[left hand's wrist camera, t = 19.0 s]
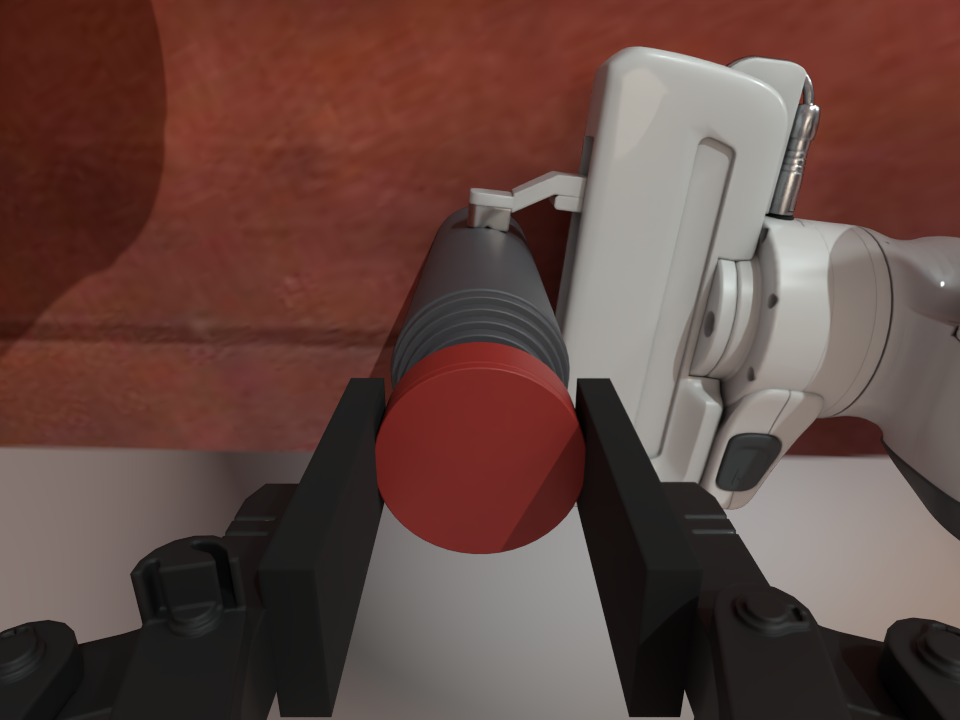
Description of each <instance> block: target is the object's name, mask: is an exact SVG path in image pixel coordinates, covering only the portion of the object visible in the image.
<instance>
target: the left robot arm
mask: <svg viewBox="0 0 960 720" xmlns="http://www.w3.org/2000/svg"><path fill="white" fill-rule="evenodd" d="M385 409H386V407H385V390H384V378H351V379H350V381H349V383H348V385H347V387H346V389H345V391H344V393H343V396H342V398H341V400H340V402H339V404H338V406H337V408H336V410H335V412H334V414H333V416H332V418H331V420H330V422H329V424H328V426H327V428H326V430H325V432H324V434H323V436H322V438H321V440H320V442H319V444H318V446H317V448H316V450H315V452H314V454H313V457H312V459H311V461H310V463H309V465H308V467H307V469H306V471H305V473H304V475H303V477H302V479H301V481H300V483H299V484H265V485H264V486H262V487H261V488H260V489H259V490H257V491H256V492H255V493H253V494H252V495H251V496H249V497H248V498H247V499H246V500H245V501H244V503H243V504H242V506H241V508H240V509H239V511H238V513H237V514H236V516H235V520H234V521H232V522H231V524H230V526H229V527H228V529H227V531H226V532H225V536H223V537H222V538H221V537H217V536H213V535H212V536H192V537H188V538H183V539H179V540H175V541H173V542H170V543H168V544H166V545H164V546H161V547H159V548H157V549H155V550H154V551H152V552H151V553H150V554H148V555H147V556H146V557H144V558H143V559H142V560H140V561H139V563H138V564H137V565H136V567H135V568H134V569H133V571H132V572H131V574H130V575H131V579H132V583H133V587H134V591H135V595H136V599H137V604H138V608H139V612H140V615H141V620H142V624H143V625H142V627H141V628H140V629H137V630H134V631H131V632H128V633H124V634H121V635H116V636H112V637H108V638H104V639H99V640H95V641H91V642H87V643H82V644H78V643H77V640H76V636H75V633H74V631H73V630H72V629H71V628H70V627H69V626H68V625H66V624H65V623H62V622H57V621H51V620H45V621H37V622H29V623H25V624H22V625H19V626H16V627H13V628H10V629H7V630H4V631H2V632H1V633H0V720H267V717H268V714H269V711H270V708H271V705H272V703H273V700H274V697H275V694H276V691H277V697H278V704H279V710H280V716H281V717H331V716H332V712H333V708H334V704H335V700H336V696H337V692H338V688H339V684H340V680H341V676H342V672H343V668H344V664H345V660H346V656H347V652H348V648H349V644H350V639H351V635H352V631H353V627H354V623H355V619H356V615H357V611H358V607H359V603H360V599H361V595H362V591H363V587H364V583H365V579H366V575H367V571H368V567H369V563H370V559H371V554H372V550H373V546H374V542H375V538H376V534H377V530H378V526H379V522H380V518H381V514H382V510H383V506H384V500H383V498H382V496H381V494H380V491H379V489H378V483H377V469H376V455H375V442H376V438H377V434H378V431H379V428H380V425H381V422H382V419H383V416H384V412H385ZM575 410H576V413H577V416H578V420H579V423H580V426H581V429H582V432H583V435H584V439H585V443H586V451H585V466H584V480H583V488H582V490H581V493H580V496H579V497H578V499H577V501H576V503H577V507H578V511H579V515H580V519H581V523H582V527H583V531H584V535H585V539H586V543H587V548H588V552H589V555H590V560H591V564H592V568H593V572H594V576H595V580H596V584H597V588H598V592H599V596H600V600H601V604H602V608H603V612H604V616H605V620H606V624H607V628H608V632H609V637H610V641H611V645H612V649H613V653H614V657H615V661H616V665H617V669H618V673H619V677H620V681H621V685H622V689H623V693H624V697H625V701H626V705H627V709H628V713H629V717H680V715H681V708H682V702H683V696H684V689H685V692H686V695H687V697H688V700H689V703H690V706H691V709H692V711H693V714H694V720H960V629H959V628H956V627H953V626H950V625H947V624H944V623H941V622H938V621H935V620H929V619H920V618H908V619H903V620H897V621H896V622H895V623H894V624H893V625H891V626H890V627H889V628H888V629H887V633H886V636H885V639H884V642H880V641H876V640H872V639H868V638H864V637H859V636H855V635H851V634H846V633H842V632H838V631H835V630H832V629H828V628H825V627H822V626H820V625H818V624H817V622H816V620H815V619H814V617H813V615H812V614H811V612H810V611H809V609H808V608H806V607H805V606H804V605H803V604H802V603H800V602H799V601H798V600H797V599H796V598H795V597H793V596H791V595H789V594H787V593H785V592H783V591H781V590H779V589H777V588H775V587H771V586H770V585H769V583H768V582H767V580H766V579H765V577H764V575H763V574H762V572H761V571H760V569H759V567H758V566H757V564H756V562H755V561H754V559H753V557H752V556H751V554H750V553H749V551H748V549H747V548H746V546H745V545H744V543H743V541H742V540H741V538H740V536H739V535H738V534H736V530H735V528H734V527H733V525H732V523H731V522H730V520H729V519H727V515H726V514H725V512H724V511H723V509H722V507H721V506H720V504H719V502H718V501H717V499H716V497H714V496H713V495H712V494H710V493H709V492H708V491H706V490H705V489H704V488H702V487H701V486H700V485H698V484H697V483H696V482H661V481H660V479H659V477H658V475H657V473H656V471H655V469H654V467H653V465H652V463H651V461H650V459H649V457H648V455H647V453H646V451H645V449H644V447H643V445H642V443H641V441H640V439H639V437H638V435H637V433H636V431H635V429H634V426H633V424H632V422H631V420H630V418H629V416H628V414H627V412H626V410H625V408H624V406H623V404H622V402H621V400H620V398H619V396H618V394H617V392H616V390H615V388H614V386H613V384H612V382H611V380H610V378H577V386H576V402H575Z"/></svg>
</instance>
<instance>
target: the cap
mask: <svg viewBox="0 0 960 720" xmlns="http://www.w3.org/2000/svg"><path fill="white" fill-rule="evenodd" d="M585 451H586V443H585V439H584V435H583V432H582V429H581V426H580V423H579V420H578V416H577V413H576V410H575V407H574V404H573V402H572V399H571V397H570V394H569V392H568V391H567V389H566V387H565V386H564V384H563V383H562V381H561V380H560V379H559V377H558V376H557V375H556V374H555V373H554V372H553V371H552V370H551V369H550V368H549V367H548V366H547V365H546V364H544V363H543V362H541V361H540V360H539V359H537V358H536V357H534V356H532V355H530V354H528V353H527V352H525V351H522V350H519V349H517V348H514V347H511V346H507V345H503V344H498V343H490V342H471V343H463V344H458V345H454V346H450V347H446V348H444V349H441V350H439V351H436V352H434V353H432V354H430V355H429V356H427V357H425V358H423V359H422V360H421V361H419V362H418V363H417V364H415V365H414V366H413V367H412V368H411V369H410V370H409V371H408V372H407V373H406V374H404V376H403V377H402V378H401V380H400V381H399V382H398V383H397V385H396V387H395V388H394V390H393V392H392V394H391V396H390V399H389V401H388V404H387V406H386V409H385V412H384V416H383V419H382V422H381V425H380V428H379V431H378V434H377V438H376V442H375V455H376V469H377V483H378V489H379V491H380V494H381V496H382V498H383V500H384V502H385V503H386V505H387V507H388V508H389V510H390V511H391V512H392V514H393V515H394V516H395V517H396V518H397V519H398V520H399V521H400V523H401V524H402V525H403V526H405V527H406V528H407V529H408V530H410V531H411V532H412V533H413V534H415V535H417V536H418V537H420V538H422V539H423V540H425V541H427V542H429V543H431V544H434V545H436V546H439V547H442V548H444V549H447V550H452V551H456V552H461V553H470V554H491V553H500V552H505V551H509V550H513V549H516V548H519V547H522V546H525V545H527V544H529V543H531V542H534V541H536V540H538V539H539V538H541V537H542V536H544V535H546V534H547V533H549V532H550V531H551V530H552V529H554V528H555V527H556V526H557V525H558V524H559V523H560V522H561V521H562V520H563V519H564V518H565V517H566V516H567V515H568V513H569V512H570V511H571V509H572V508H573V506H574V505H575V503H576V501H577V499H578V497H579V496H580V493H581V490H582V488H583V480H584V466H585Z"/></svg>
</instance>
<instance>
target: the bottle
mask: <svg viewBox="0 0 960 720" xmlns="http://www.w3.org/2000/svg"><path fill="white" fill-rule="evenodd" d="M467 218H468V207H466V208H463V209H461V210H458V211H457V212H455V213H453V214H452V215H451V216H449V217H448V218H447V219H446V220H445V221H444V222H443V224H442V225H441V227H440V228H439V230H438V232H437V234H436V237H435V239H434V242H433V245H432V247H431V250H430V253H429V256H428V258H427V261H426V264H425V266H424V269H423V272H422V274H421V277H420V280H419V282H418V285H417V288H416V290H415V293H414V296H413V299H412V301H411V304H410V307H409V309H408V312H407V315H406V317H405V320H404V323H403V325H402V328H401V331H400V333H399V336H398V339H397V342H396V344H395V347H394V350H393V355H392V360H391V380H392V387H393V390H394V388H395V387H396V385H397V383H398V382H399V381H400V380H401V378H402V377H403V376H404V374H406V373H407V372H408V371H409V370H410V369H411V368H412V367H413V366H414V365H415V364H417V363H418V362H419V361H421V360H422V359H423V358H425V357H427V356H429V355H430V354H432V353H434V352H436V351H439V350H441V349H444V348H446V347H450V346H454V345H458V344H463V343H471V342H490V343H498V344H503V345H507V346H511V347H514V348H517V349H519V350H522V351H525V352H527V353H528V354H530V355H532V356H534V357H536V358H537V359H539V360H540V361H541V362H543V363H544V364H546V365H547V366H548V367H549V368H550V369H551V370H552V371H553V372H554V373H555V374H556V375H557V376H558V377H559V379H560V380H561V381H562V383H563V384H564V386H565V387H566V389H567V390H568V383H569V375H570V365H569V356H568V352H567V348H566V345H565V342H564V340H563V337H562V334H561V331H560V329H559V326H558V323H557V321H556V318H555V315H554V313H553V310H552V307H551V305H550V302H549V299H548V297H547V294H546V291H545V289H544V286H543V283H542V281H541V278H540V275H539V273H538V270H537V267H536V265H535V262H534V259H533V257H532V254H531V251H530V249H529V246H528V243H527V240H526V238H525V235H524V233H523V231H522V229H521V227H520V226H519V224H518V223H517V222H516V221H515V220H514V219H513V218H512V217H511V216H510V222H509V229H508V232H506V231H497V230H493V229H491V228H490V227H489V226H486V227H484V228H473V227H469V226H467Z"/></svg>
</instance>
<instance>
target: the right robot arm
mask: <svg viewBox="0 0 960 720" xmlns="http://www.w3.org/2000/svg"><path fill="white" fill-rule="evenodd" d="M802 91H803V104H799V100H800V97H801V93H802ZM814 99H815V97H814V87H813V83H812V81H811V79H810V77H809V75H808V73H807V72H806V71H805V69H804V68H802V67H801V66H800V65H798V64H797V63H795V62H792V61H790V60H786V59H778V58H771V57H763V56H746V57H741V58H739V59H736V60H734V61H732V62H731V63H729V64H727V65H726V66H723V65H719V64H716V63H713V62H710V61H706V60H702V59H699V58H695V57H692V56H687V55H683V54H679V53H674V52H669V51H664V50H659V49H654V48H647V47H629V48H625V49H622V50H620V51H619V52H617V53H615V54H614V55H613V56H611V57H610V58H609V59H607V60H606V61H605V62H604V63H603V64H602V65H600V66H599V67H598V69H597V70H596V72H595V75H594V80H593V86H592V92H591V98H590V104H589V111H588V117H587V123H586V129H585V135H584V141H583V147H582V153H581V159H580V165H579V171H578V174H577V173H568V172H559V171H551V172H549V173H546V174H544V175H542V176H540V177H538V178H535V179H533V180H531V181H529V182H527V183H524V184H522V185H520V186H518V187H515V188H513V189H512V191H511V192H507V191H498V190H489V189H481V188H471V190H470V198H469V207H468V218H467V226H469V227H473V228H484V227H486V226H489V227H490V228H491V229H493V230H497V231H506V232H508V229H509V222H510V215H511V212H512V213H513V212H515V211H517V210H520V209H522V208H524V207H527V206H529V205H532V204H534V203H536V202H539V201H541V200H543V199H546V198H548V197H549V201H550V202H551V204H552V205H553V206H554V207H555V208H556V209H558V210H565V211H572V214H571V220H570V226H569V232H568V238H567V244H566V251H565V257H564V263H563V269H562V275H561V281H560V287H559V293H558V299H557V305H556V311H555V318H556V321H557V323H558V326H559V329H560V331H561V334H562V337H563V340H564V342H565V345H566V348H567V352H568V356H569V365H570V375H569V383H568V390H567V391H568V392H569V394H570V397H571V399H572V402H573V404H574V407H575V402H576V386H577V378H610V380H611V382H612V384H613V386H614V388H615V390H616V392H617V394H618V396H619V398H620V400H621V402H622V404H623V406H624V408H625V410H626V412H627V414H628V416H629V418H630V420H631V422H632V424H633V426H634V429H635V431H636V433H637V435H638V437H639V439H640V441H641V443H642V445H643V447H644V449H645V451H646V453H647V455H648V457H649V459H650V461H651V463H652V465H653V467H654V469H655V471H656V473H657V475H658V477H659V479H660V481H661V482H696V483H697V484H698V485H700V486H701V487H702V488H704V489H705V490H706V491H708V492H709V493H710V494H712V495H713V496H714V497H716V499H717V501H718V502H719V504H720V506H721V507H722V509H738V508H741V507H743V506H744V505H746V504H747V503H748V502H749V501H750V500H751V499H752V497H753V496H754V495H755V493H756V492H757V491H758V489H759V488H760V486H761V485H762V484H763V482H764V481H765V479H766V478H767V477H768V475H769V474H770V472H771V471H772V470H773V468H774V467H775V466H776V464H777V463H778V462H779V461H780V459H781V458H782V457H783V455H784V454H785V453H786V452H787V450H788V449H789V448H790V447H791V446H792V444H793V443H794V442H795V441H796V440H797V439H798V437H799V436H800V435H801V434H802V433H803V432H804V431H805V430H806V429H807V428H808V427H809V426H810V425H811V424H812V423H813V422H814V420H815V419H816V418H829V417H838V416H854V417H860V418H864V419H867V420H869V421H871V422H873V423H875V424H876V425H878V426H879V427H880V428H881V430H882V432H883V436H882V437H881V441H882V443H883V446H884V448H885V449H886V451H887V453H888V454H889V456H890V458H891V459H892V461H893V462H894V464H895V465H896V467H897V468H898V469H899V471H900V472H901V474H902V475H903V476H904V478H905V479H906V480H907V482H908V483H909V484H910V486H911V487H912V488H913V490H914V491H915V493H916V494H917V496H918V497H919V498H920V500H921V501H922V502H923V504H924V505H925V507H926V508H927V509H928V511H929V512H930V513H931V514H932V516H933V517H934V518H935V519H936V520H937V521H938V522H939V523H940V524H941V525H942V526H943V527H944V528H945V529H946V530H947V531H948V532H950V533H951V534H952V535H953V536H955V537H956V538H957V539H958V540H960V238H957V237H947V236H933V237H923V238H918V239H913V240H896V239H892V238H889V237H887V236H885V235H883V234H881V233H878V232H876V231H874V230H871V229H869V228H865V227H860V226H856V225H847V224H839V223H830V222H822V221H813V220H805V219H797V218H794V217H792V216H793V212H794V209H795V206H796V202H797V198H798V195H799V191H800V188H801V184H802V180H803V176H804V174H803V172H804V170H805V167H804V165H805V163H806V160H805V159H806V158H807V154H808V153H807V152H808V151H809V148H810V144H811V141H812V140H814V138H815V135H816V132H817V129H818V126H819V121H820V114H821V108H820V106H818V105H814ZM574 506H575V507H577V503H575V505H574Z"/></svg>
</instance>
